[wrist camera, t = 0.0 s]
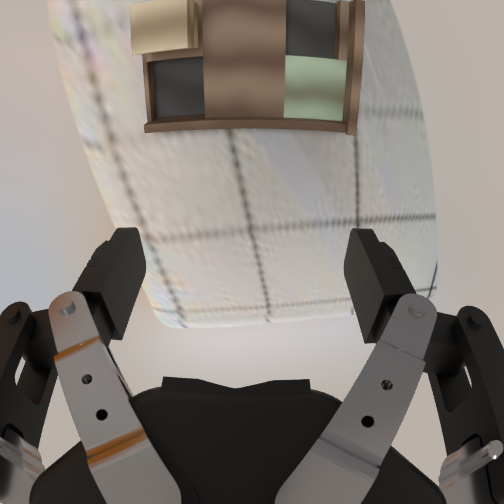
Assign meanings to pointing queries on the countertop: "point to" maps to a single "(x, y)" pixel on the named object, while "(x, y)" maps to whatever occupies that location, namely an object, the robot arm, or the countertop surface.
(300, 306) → the countertop surface
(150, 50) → the block
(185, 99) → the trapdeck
